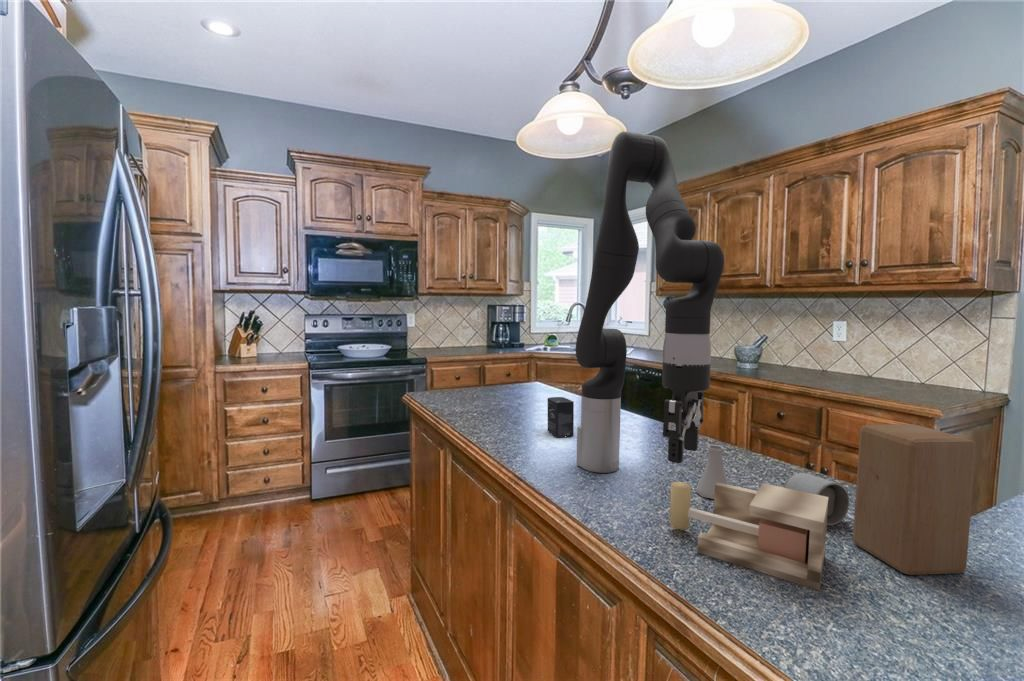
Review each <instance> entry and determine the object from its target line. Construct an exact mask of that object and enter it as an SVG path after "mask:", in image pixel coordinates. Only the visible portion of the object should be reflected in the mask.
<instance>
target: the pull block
mask: <svg viewBox="0 0 1024 681" xmlns="http://www.w3.org/2000/svg"><path fill="white" fill-rule="evenodd" d="M691 494H692V486H691V484H690V483H687V482H684V481H673V482H671V484H670V505H669V525H670V527H672V528H674V529H677V530H688V529H690V518H691V519H694V520H698V521H703V522H706V523H710V524H712V525H713V524H716V525H720V526H723V527H727V528H731V529H734V530H738V531H742V532H745V533H749V534H753V535H756V536H759V537H758V550H760V551H764V552H767V553H771V554H774V555H778V556H781V557H785V558H788V559H792V560H795V561H799V562H802V563H805V564H806V560H807V556H808V551H809V535H810V530H807V529H803V528H799V527H795V526H791V525H787V524H783V523H779V522H775V521H771V520H767V519H763V518H761V520H760V522H759V525H755V524H752V523H748V522H744V521H740V520H736V519H732V518H729V517H725V516H721V515H717V514H714V512H709V511H705V510H701V509H697V508H693V507H691V497H692V496H691Z"/></svg>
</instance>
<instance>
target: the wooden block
mask: <svg viewBox="0 0 1024 681" xmlns="http://www.w3.org/2000/svg"><path fill="white" fill-rule="evenodd" d="M976 444H977V443H976V442H975V441H974V440H972V439H970V438H967V437H964V436H960V435H957V434H953V433H949V432H945V431H942V430H937V429H935V428H930V427H925V426H922V425H918V424H916V423H915V424H913V423H912V424H906V423H905V424H864V425H863V426H861V427H860V430H859V441H858V454H857V473H856V484H855V485H856V486H855V502H854V518H853V533H852V540H853V542H854V543H855V545H856V546H858V547H859V548H861V549H862V550H865V552H867V553H869V554H871V555H873V556H874V557H875V558H877V559H879V560H881V561H882V562H884V563H886V564H888V565H889V566H890V567H892V568H894V569H895V570H897V571H899V572H900V573H902V574H905V575H908V576H914V575H915V576H916V575H917V576H918V575H939V574H940V575H943V574H962V573H964V572H965V570H966V569H967V562H968V549H969V539H970V537H969V536H970V526H971V513H972V512H971V511H972V501H973V491H974V490H973V489H974V477H975V466H976V454H977V452H976V451H977V445H976Z"/></svg>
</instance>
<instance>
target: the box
mask: <svg viewBox="0 0 1024 681" xmlns="http://www.w3.org/2000/svg"><path fill="white" fill-rule="evenodd" d="M574 403H575V402H574V400H571V399H568V398H566V397H563V396H554V397H553V396H552V397H548V398H547V432H548V431H549V432H550V433H549V432H548V433H549V434H551V433H552V434H553V436H554V437H555V436H556V438H557V437H565V436H573V437H574V431H575V430H574V428H575V427H574V422H575V420H574V417H575V414H574V410H575V409H574V408H575V405H574ZM552 434H551V435H552ZM565 438H566V437H565Z"/></svg>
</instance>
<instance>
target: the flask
mask: <svg viewBox="0 0 1024 681" xmlns="http://www.w3.org/2000/svg"><path fill="white" fill-rule="evenodd" d="M706 448H707V450H708V456H707V460H706V465H705V467H704V469H703V472H702V475H701V477H700V480H699V482H698V484H697V486H696V489H694V490H695V493H697V494H698V495H699V496H701V497H702V498H708V499H712V500H714V494H715V484H716V483H717V482H719V483H723V484H728V485H730V484H729V480H728V477H727V474H726V470H725V467H724V461H723V451H724V450H725V447H723V446H722V445H718V444H708V445H707V447H706Z"/></svg>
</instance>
